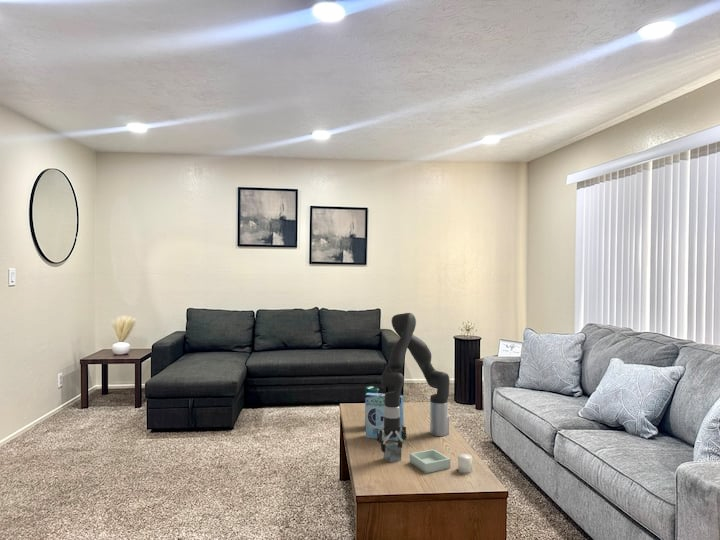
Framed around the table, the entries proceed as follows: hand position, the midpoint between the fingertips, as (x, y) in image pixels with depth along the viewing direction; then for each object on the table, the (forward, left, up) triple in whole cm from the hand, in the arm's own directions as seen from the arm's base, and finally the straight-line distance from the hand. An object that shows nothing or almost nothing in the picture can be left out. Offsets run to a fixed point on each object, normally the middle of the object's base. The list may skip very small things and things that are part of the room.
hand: (391, 450), depth 221 cm
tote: (-12, +13, -4) cm, 19 cm away
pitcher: (-13, -44, -4) cm, 46 cm away
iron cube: (0, 0, -4) cm, 4 cm away
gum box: (-10, -26, -4) cm, 28 cm away
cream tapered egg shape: (-23, +24, -4) cm, 34 cm away
